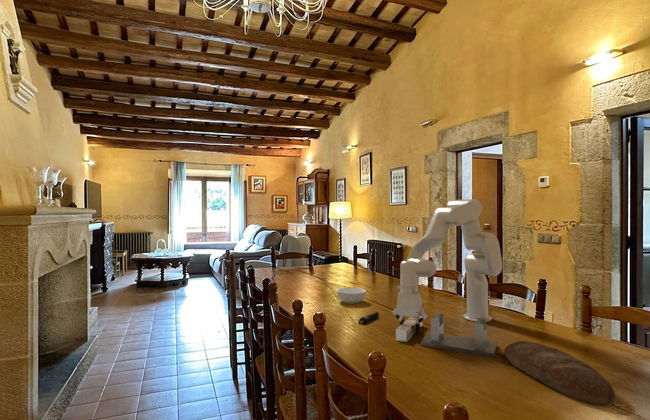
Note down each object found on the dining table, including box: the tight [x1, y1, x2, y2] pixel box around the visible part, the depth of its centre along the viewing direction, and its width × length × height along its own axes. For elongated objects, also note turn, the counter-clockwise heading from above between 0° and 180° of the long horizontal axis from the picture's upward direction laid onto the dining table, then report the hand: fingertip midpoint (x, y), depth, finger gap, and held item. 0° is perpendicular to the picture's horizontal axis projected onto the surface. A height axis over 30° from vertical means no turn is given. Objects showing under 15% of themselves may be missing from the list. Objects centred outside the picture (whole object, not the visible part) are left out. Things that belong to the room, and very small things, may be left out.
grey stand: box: [420, 312, 498, 359], centre depth 141 cm, size 13×26×10 cm, turn 61°
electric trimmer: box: [357, 311, 380, 326], centre depth 175 cm, size 4×16×3 cm, turn 142°
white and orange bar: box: [395, 315, 423, 343], centre depth 157 cm, size 24×5×5 cm, turn 151°
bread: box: [503, 340, 616, 406], centre depth 114 cm, size 16×36×8 cm, turn 13°
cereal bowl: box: [336, 287, 367, 305], centre depth 211 cm, size 17×17×7 cm
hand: (409, 331), depth 157 cm, fingers open, 5 cm apart
